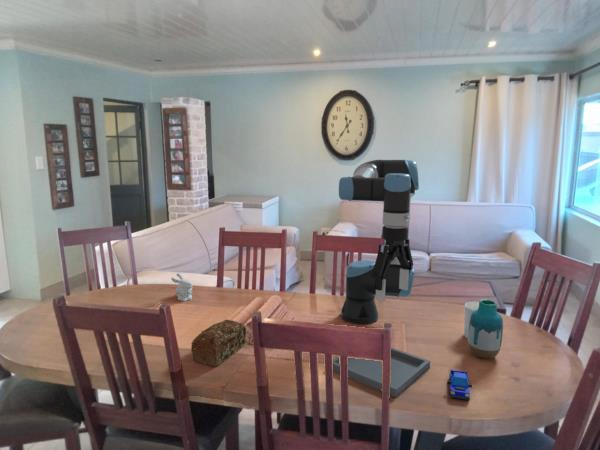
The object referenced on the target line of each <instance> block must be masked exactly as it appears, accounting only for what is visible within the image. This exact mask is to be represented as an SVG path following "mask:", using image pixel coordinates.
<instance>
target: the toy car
mask: <svg viewBox="0 0 600 450" xmlns="http://www.w3.org/2000/svg"><path fill="white" fill-rule="evenodd" d="M468 376H469V375H468V372H467V371H462V370H455V369H450V371H449V376H448V377H449V380H447V384H448V385H449V386H450V387H449V389H450V390H449V391H450V392H449V393H450V395H449V397H450V398H451V399H452V398H453V399H458V400H459V399H460V400H461V399H462V400H466V401H470V399H471V397H470V388H473V384H470V383H469V377H468Z"/></svg>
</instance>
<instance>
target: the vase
mask: <svg viewBox="0 0 600 450" xmlns="http://www.w3.org/2000/svg"><path fill="white" fill-rule="evenodd" d="M478 302H479V307H478V310H475V311H473V312H472V314H471V317H470V322H469V330H468V338H467V344H468V348H469V350H470V351H471V353H472V354H473V355H475V356H477V357H479V358H483V359H491V358H492V359H493V358H495V357H496V356H498V355H499V353H500V351H501V347H502V342H503V341H502V340H503V333H504V319H503V317H502V315H501V314H500V313H499V312H498V311H497V309H498V308H497V306H498V305H497V302H496V301H494V300H492V299H480V300H479V301H478Z"/></svg>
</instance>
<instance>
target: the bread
mask: <svg viewBox="0 0 600 450" xmlns="http://www.w3.org/2000/svg"><path fill="white" fill-rule="evenodd" d="M246 330H247V328H246V326H245V324H243V323H241V322H239V321H235V320H231V319H223V321H221V322H216V323H214V324H212V325H210V326H209V327H207V328H205V329H204V330H202V331H201V332H200V333H199V334H198V335H197V336H196V337H195V338H194V339H193V340H192V342H191V348H190V350H191V356H192V360H193V361H194V362H195V363H198V364H201V365H204V366H208V367H212V368H213V367H217V366H218V367H219V366H220V364H222V363H223V362H225V361H227V360H228V359H229V358H231V357H232V356H233V355H235V353H237V352H238V351H239V350H240V349H242V347H244V346H245V344H246V339H247V336H246V334H247V332H246Z"/></svg>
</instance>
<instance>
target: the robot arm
mask: <svg viewBox="0 0 600 450" xmlns="http://www.w3.org/2000/svg"><path fill="white" fill-rule="evenodd" d="M418 171H419V170H418V165H417V162H416V161H414V160H409V159H372V160H370V161H366V162H363V163H361V164H360V165H357V167H356V168H355V170H354V171H353V176H343V177H340V179H339V181H338V196H339V199H340V200H341V201H349V202H351V201H355V202H357V201H358V202H361V201H362V202H381V203H382V202H383V210H382V223H381V224H382V225H383V226H382V227H381V228H382V230H381V238H382V240H385V243H384V244H379V245H378V252H377V256H376V259H375V261H374V260H368V259H362V260H355V261H353V262H350V263H349V264H348V265H347V267H346V274H345V277H346V278H345V279H346V280H345V281H346V282H345V300H344V302H343V306H342V308H341V312H340V316H341V319H342V320H344V321H345V322H348V323H350V324H351V323H352V324H355V325H368V324H367V323H369V324H372V323H375V322H377V321H378V320H379V311H378V308H377V307H378V306H377V304H376V301H375V300H377V301H381V302H385V301H386V296H388V297H389V296H390V297H397V298H400V297H401V298H402V297H405V298H406V297H409V296H410V295H411V293H412V289H413V283H414V279H415V278H414V277H415V271H416V270H415V268H414V267H413V266H414V260H413V256H412V252H411V251H412V250H411V245H410V239H409V238H410V237H409V236H410V215H411V200H412V198H413V197H414V196H415V194H416V192H415V191H418V190H419V189H420V185H419V172H418Z"/></svg>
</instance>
